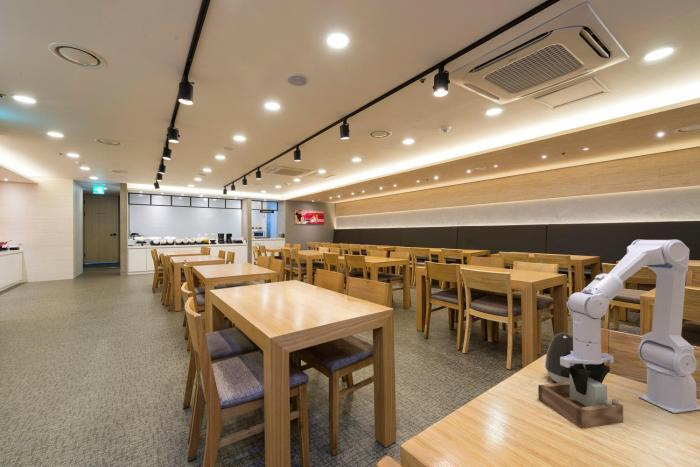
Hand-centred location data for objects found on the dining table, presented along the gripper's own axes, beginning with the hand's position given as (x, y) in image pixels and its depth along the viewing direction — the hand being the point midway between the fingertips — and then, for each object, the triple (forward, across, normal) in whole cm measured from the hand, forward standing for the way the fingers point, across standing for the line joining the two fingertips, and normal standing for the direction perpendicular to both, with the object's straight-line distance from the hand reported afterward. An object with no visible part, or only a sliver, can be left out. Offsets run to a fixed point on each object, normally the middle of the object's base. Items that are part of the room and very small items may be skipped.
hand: (587, 392), depth 77 cm
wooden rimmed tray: (+4, +3, 0) cm, 5 cm away
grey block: (+3, 0, 0) cm, 3 cm away
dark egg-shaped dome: (+5, -7, -13) cm, 16 cm away
